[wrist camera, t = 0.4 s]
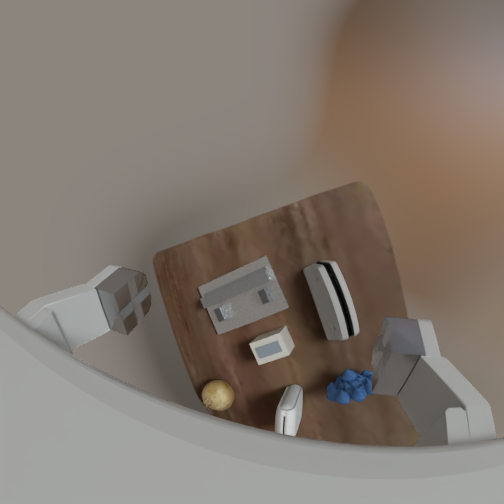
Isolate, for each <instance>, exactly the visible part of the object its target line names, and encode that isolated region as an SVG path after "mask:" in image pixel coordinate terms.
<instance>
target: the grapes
mask: <svg viewBox="0 0 504 504" xmlns="http://www.w3.org/2000/svg"><path fill="white" fill-rule="evenodd" d="M372 375H373V373H372V372H370V371H368V370H364V371H363V372H362V373H361V374H359V373H358V372H355V371H353V370H350V369H346V371H345V372H344V373H343V375H342V376H338V377H337V379H336V380H335V383H333V382H331V383H330V384H329V385H328V387H327V389H326V390H327V392H328V393H327V399H329V400H330V401H335V402H336V401H337V402H338V403H340V404H345V405H346V404H347V403H349V402H350V400H351V398H352V399H353V400H354V401H358V402H362V401H363V400H364V399H365V398H366V395H367V394H370V395H373V394H374V393H372Z"/></svg>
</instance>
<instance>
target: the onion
mask: <svg viewBox="0 0 504 504" xmlns="http://www.w3.org/2000/svg"><path fill="white" fill-rule="evenodd" d="M202 399H203V403H204V404H205V405H206V407H207V406H208V407H210V408H211V409H214V410H218V411H222V410H226V409H228V408H229V407H230V406H231V405H232V404H233V401H234V391H233V389H232V387H231V386H230V385H229V384H228V383H226V382H224V381H222V380H213V381H211V382H209V383H208V384H206V385H205V387H204V388H203V391H202ZM206 407H205V408H206Z"/></svg>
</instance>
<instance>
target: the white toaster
mask: <svg viewBox="0 0 504 504" xmlns="http://www.w3.org/2000/svg"><path fill="white" fill-rule="evenodd" d="M319 262H320V263H318V264H315V263H313V264H311V265H310V266H308V267H306V268H304V269H303V272H304V275H305V277H306V280H307V283H308V286H309V288H310V291H311V294H312V297H313V300H314V302H315V305H316V308H317V311H318V314H319V317H320V320H321V322H322V325H323V328H324V331H325V334H326V337H327V339H328V340H334V339H336V340H346V339H348V338H349V337H350V336H355V335H357V334H358V333H359V325H358V321H357V316H356V312H355V308H354V305H353V302H352V299H351V296H350V293H349V290H348V288H347V285H346V283H345V280H344V278H343V276H342V274H341V271H340V269H339V267H338V265H337V263H336V262H335V261H327V260H323V261H319Z"/></svg>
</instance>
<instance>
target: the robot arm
mask: <svg viewBox="0 0 504 504" xmlns="http://www.w3.org/2000/svg"><path fill="white" fill-rule="evenodd" d="M147 284H148V281H147V277H146V275H145V274H144V273H143V272H140V271H136V270H132V269H128V268H124V267H120V266H116V265H109V266H108V267H107V268H106V269H104V270H103V271H102V272H100V273H99V274H98V275H97V276H95V277H94V278H93V279H92V280H90V281H89V282H88V283H86V284H85V285H83V284H81V285H78V286H75V287H72V288H69V289H65V290H62V291H59V292H56V293H53V294H50V295H47V296H44V297H41V298H38V299H34V300H33V301H32V302H30V303H29V304H28V305H27V306H25V307H24V308H23V309H22V310H20V311H19V312H18V313H17V314H16V315H14V316H13V315H12V314H10V313H9V312H8V311H6V310H5V309H4V308H3V307H1V306H0V504H504V438H499V439H497V438H496V433H495V427H494V422H493V417H492V412H491V408H490V404H489V403H488V402H487V401H486V400H485V399H484V398H483V397H482V396H481V395H480V393H479V392H477V390H476V389H475V388H474V387H473V386H472V385H471V384H470V383H469V382H468V381H467V380H466V378H464V376H462V374H461V373H460V372H459V371H458V370H457V369H456V368H455V367H454V366H453V365H452V364H451V363H450V362H449V361H448V360H447V359H446V358H445V357H441V355H440V351H439V347H438V343H437V339H436V336H435V333H434V329H433V325H432V322H431V321H430V320H422V319H407V318H398V317H390V316H385V318H384V320H383V322H382V325H381V331H382V334H380V335H379V336H378V337H377V339H376V342H375V345H374V349H373V354H372V366H373V367H374V369H375V371H374V373H373V375H372V393H375V394H384V395H394V396H397V398H398V400H399V402H400V403H401V405H402V407H403V408H404V410H405V412H406V414H407V415H408V417H409V419H410V420H411V422H412V424H413V426H414V427H415V429H416V431H417V433H418V434H419V436H420V438H421V439H420V440H419V441H418V442H417V443H416V444H415V445H414V446H413V447H398V446H371V445H357V444H347V443H337V442H329V441H322V440H315V439H308V438H302V437H297V436H291V435H286V434H281V433H276V432H271V431H267V430H262V429H258V428H254V427H250V426H246V425H242V424H239V423H235V422H231V421H228V420H224V419H221V418H218V417H214V416H211V415H208V414H205V413H202V412H199V411H196V410H193V409H190V408H187V407H184V406H182V405H179V404H176V403H173V402H171V401H168V400H166V399H163V398H160V397H158V396H156V395H153V394H151V393H149V392H146V391H144V390H142V389H139V388H137V387H135V386H132V385H130V384H128V383H126V382H123V381H122V380H120V379H117V378H115V377H113V376H111V375H109V374H107V373H105V372H103V371H101V370H100V369H97V368H96V367H94V366H92V365H90V364H88V363H86V362H85V361H83V360H81V359H79V358H77V357H76V356H74V355H73V354H72V352H71V350H73V349H75V348H77V347H79V346H81V345H83V344H85V343H87V342H89V341H91V340H93V339H95V338H97V337H98V336H100V335H102V334H104V333H106V332H108V331H110V329H111V330H114V331H117V332H119V333H122V334H125V335H128V334H129V333H130V332H131V331H132V330H133V329H134V328H135V327H136V325H137V324H138V319H140V318H142V317H145V315H146V314H147V313H148V312H149V309H150V307H151V294H150V292H149V291H148V289H147V288H146V286H147Z"/></svg>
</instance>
